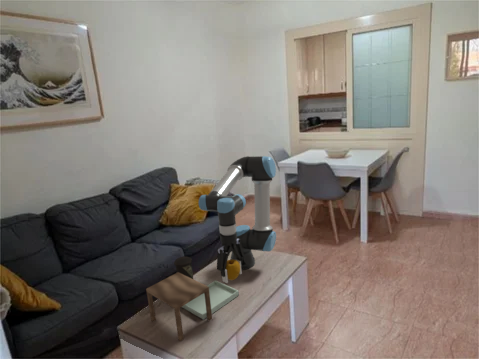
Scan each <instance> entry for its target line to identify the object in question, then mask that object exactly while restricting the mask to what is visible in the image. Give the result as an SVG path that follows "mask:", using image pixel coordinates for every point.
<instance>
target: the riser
mask: <svg viewBox="0 0 479 359" xmlns="http://www.w3.org/2000/svg"><path fill="white" fill-rule="evenodd" d="M145 290H146V295H147V296H146V297H147V301H148V302H147V303H148V308H149V309H148V310H149V316H150V321H151V322H152V323H154V322H155V321H157V318H156V311H155V304H154V298H156V299H158V300H159V301H161V302H163V303H165V304H166V305H168V306H170V307H171V308H173V310H174V317H175V323H176V324H175V326H176V332H177V339H178V341H179V342H182V341H183V340H184V339H185V338H184V330H183V323H182V316H181V315H182V314H181V308H183V307H182V306H184V305H185V304H187V303H189V302H190V301H192V300H193V299H195V298H197V297H198V296H200V295H201V294H203V293H204V294H205V304H206V313H207V318H206V319H207V320H208V321H209V322H210V321H211V320H213V313H212V312H211V303H210V293H209V287H208V286H207V285H206V284H204V283H201V282H200V281H197V280H196V279H194V278H193V279H192V278H189V277H187V276H185V275H183V274H181V273H179V272H176V273H174V274H172V275H169V276H168V277H166V278H164V279H163V280H160V281H159V282H156V283H155V284H153V285H150V286H148V287H147V288H146V289H145ZM153 297H154V298H153Z"/></svg>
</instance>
